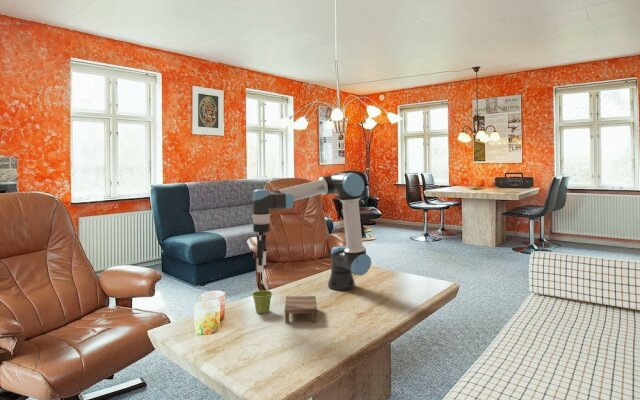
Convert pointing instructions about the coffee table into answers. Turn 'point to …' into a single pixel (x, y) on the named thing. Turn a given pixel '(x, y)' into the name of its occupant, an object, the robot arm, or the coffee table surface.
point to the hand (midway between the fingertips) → (261, 268)
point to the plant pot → (262, 301)
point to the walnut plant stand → (300, 306)
